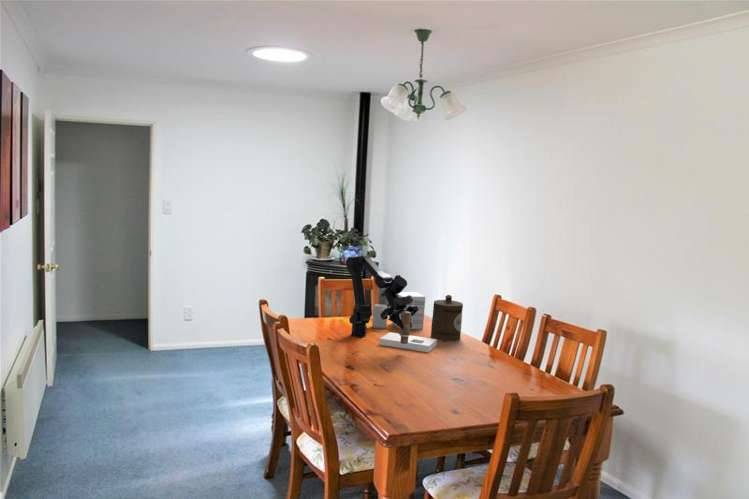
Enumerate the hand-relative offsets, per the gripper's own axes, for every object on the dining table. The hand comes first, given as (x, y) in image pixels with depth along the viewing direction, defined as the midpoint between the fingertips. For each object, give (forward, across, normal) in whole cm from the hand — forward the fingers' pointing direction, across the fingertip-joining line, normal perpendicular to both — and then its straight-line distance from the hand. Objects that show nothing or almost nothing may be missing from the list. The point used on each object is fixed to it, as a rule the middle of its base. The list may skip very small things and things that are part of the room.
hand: (407, 328), depth 290 cm
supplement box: (-20, +37, +38) cm, 56 cm away
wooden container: (-1, +38, +18) cm, 42 cm away
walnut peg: (+4, 0, +6) cm, 7 cm away
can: (-23, +20, +40) cm, 50 cm away
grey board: (+1, +11, +16) cm, 19 cm away
